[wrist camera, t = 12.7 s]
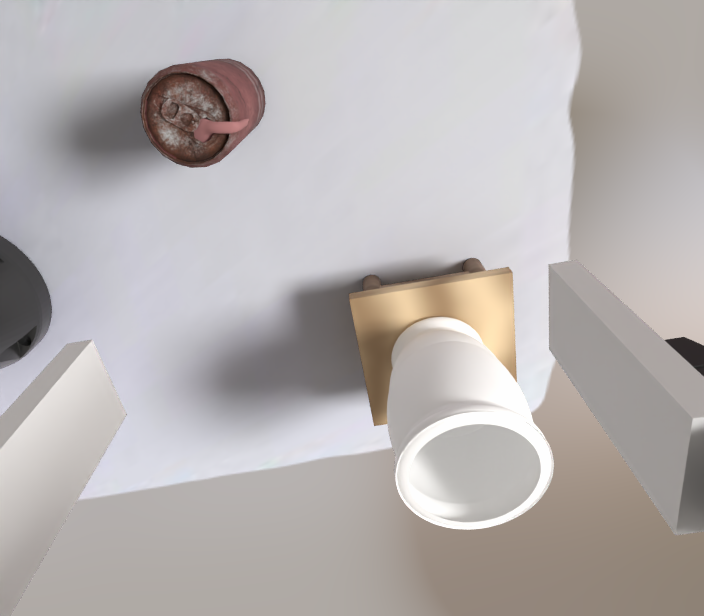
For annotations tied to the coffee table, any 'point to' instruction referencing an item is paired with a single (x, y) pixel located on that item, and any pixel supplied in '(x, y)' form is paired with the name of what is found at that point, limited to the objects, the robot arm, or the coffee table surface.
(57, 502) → the robot arm
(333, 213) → the coffee table surface
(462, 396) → the jar
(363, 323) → the stool
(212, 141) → the can
